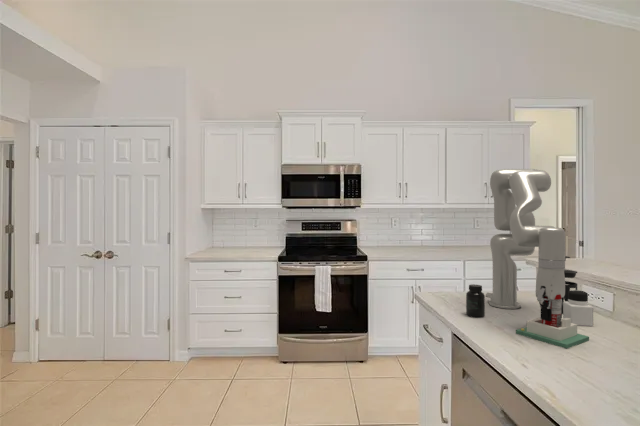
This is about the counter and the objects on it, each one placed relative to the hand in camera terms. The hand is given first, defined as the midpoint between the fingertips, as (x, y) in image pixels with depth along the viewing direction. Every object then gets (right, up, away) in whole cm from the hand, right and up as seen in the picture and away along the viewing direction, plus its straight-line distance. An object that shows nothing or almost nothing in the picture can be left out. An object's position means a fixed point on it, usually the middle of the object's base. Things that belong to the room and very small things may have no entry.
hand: (551, 318), depth 122 cm
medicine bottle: (+19, -6, +15) cm, 25 cm away
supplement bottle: (-15, -6, +25) cm, 30 cm away
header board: (0, -6, 0) cm, 6 cm away
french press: (+24, -6, +30) cm, 39 cm away
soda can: (0, -3, 0) cm, 3 cm away
